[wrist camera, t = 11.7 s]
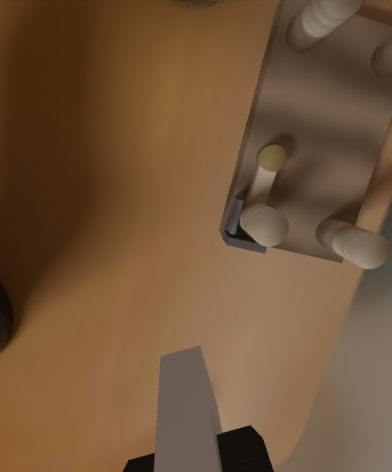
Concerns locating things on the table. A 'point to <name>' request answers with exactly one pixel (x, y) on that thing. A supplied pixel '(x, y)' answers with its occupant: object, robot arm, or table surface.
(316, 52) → the peg board
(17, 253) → the table surface
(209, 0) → the bread roll
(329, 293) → the table surface
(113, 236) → the table surface
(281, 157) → the hinged leg
